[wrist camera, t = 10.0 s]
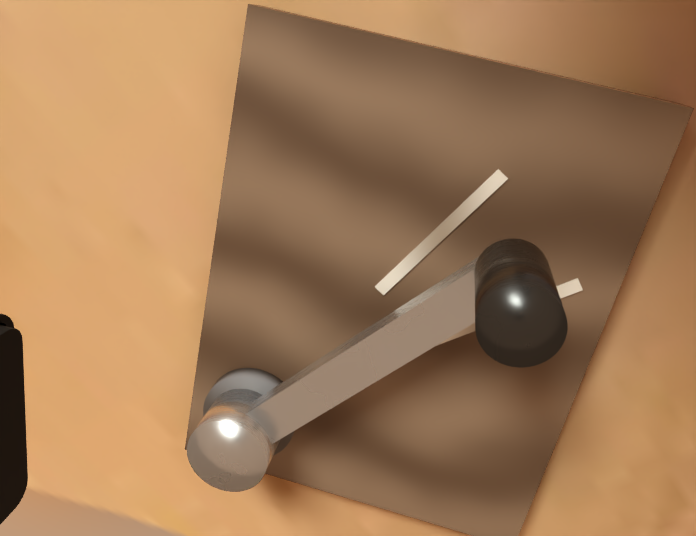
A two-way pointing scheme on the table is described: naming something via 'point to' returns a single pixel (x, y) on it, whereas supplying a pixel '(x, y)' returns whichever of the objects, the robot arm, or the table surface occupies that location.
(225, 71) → the table surface
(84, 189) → the table surface
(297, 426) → the lever
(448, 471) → the cracker board
